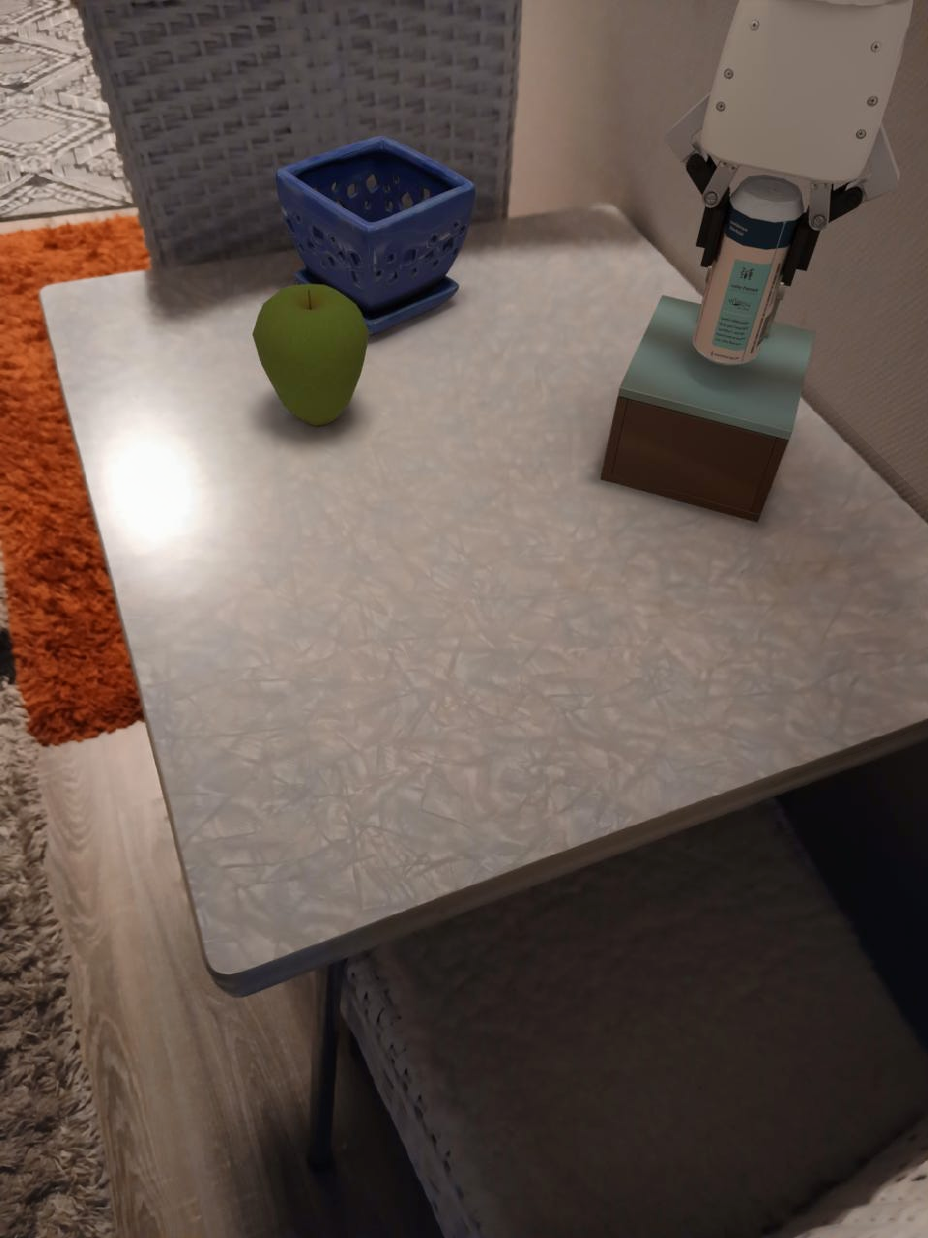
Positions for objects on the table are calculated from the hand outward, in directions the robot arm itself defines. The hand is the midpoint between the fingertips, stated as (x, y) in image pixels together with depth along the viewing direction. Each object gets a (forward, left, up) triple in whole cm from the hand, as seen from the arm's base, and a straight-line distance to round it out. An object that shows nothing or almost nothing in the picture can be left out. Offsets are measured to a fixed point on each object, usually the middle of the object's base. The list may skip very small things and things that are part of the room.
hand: (748, 264), depth 66 cm
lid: (0, -2, -10) cm, 10 cm away
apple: (+30, +7, -18) cm, 35 cm away
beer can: (0, 0, -7) cm, 7 cm away
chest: (0, -2, -17) cm, 18 cm away
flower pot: (+33, -12, -18) cm, 39 cm away
